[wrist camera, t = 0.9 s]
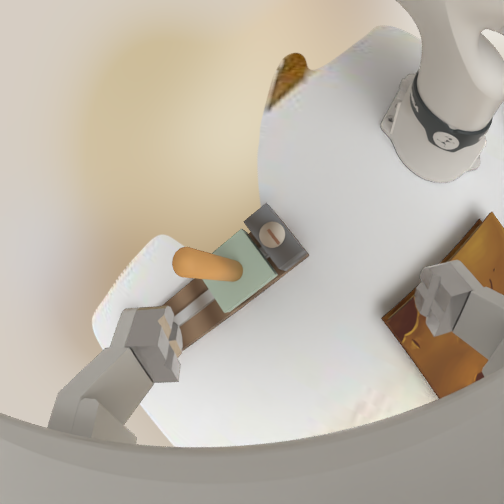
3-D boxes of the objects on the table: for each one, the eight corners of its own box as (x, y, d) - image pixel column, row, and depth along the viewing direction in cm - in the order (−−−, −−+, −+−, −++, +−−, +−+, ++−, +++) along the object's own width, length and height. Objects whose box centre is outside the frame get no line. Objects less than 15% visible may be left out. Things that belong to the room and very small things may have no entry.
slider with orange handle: (246, 231, 43) (198, 202, 28) (278, 274, 40) (242, 266, 26) (201, 268, 44) (139, 258, 30) (229, 311, 42) (173, 321, 28)
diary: (440, 401, 34) (451, 414, 28) (380, 317, 39) (386, 322, 34) (530, 304, 30) (548, 305, 25) (477, 220, 35) (492, 211, 30)
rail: (277, 215, 45) (265, 201, 38) (309, 255, 43) (302, 248, 36) (139, 330, 50) (112, 333, 43) (160, 366, 48) (134, 375, 41)
